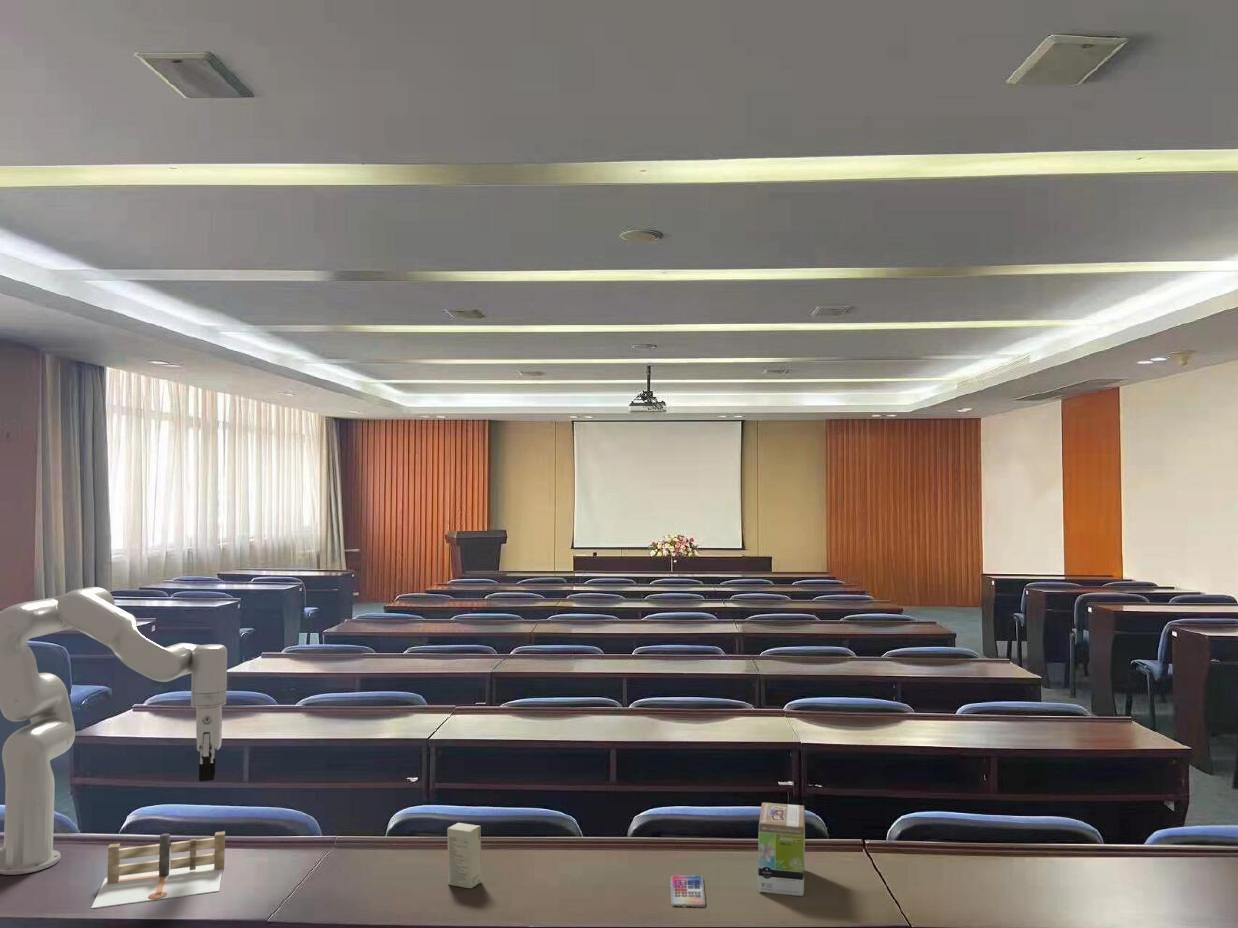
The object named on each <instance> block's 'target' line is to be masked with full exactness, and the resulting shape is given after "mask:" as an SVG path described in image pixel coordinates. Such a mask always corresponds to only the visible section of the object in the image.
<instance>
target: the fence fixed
mask: <svg viewBox="0 0 1238 928" xmlns="http://www.w3.org/2000/svg"><path fill="white" fill-rule="evenodd" d="M170 854H171V834H170V833H162V834H160V835H159V843H156V844H148V845H142V846H141V845H140V846H133V847H132V846H131V847H125V848H124V847H123V848H121V843H119V842H118V843H112V844H109V845H108V847H107V875H106V876H107V877H106V878H107V884H113V883H118V881H119V876H123V875H131V874H139V873H147V872H155V871H159V876H160V877H165V876H168V875H169V870H170ZM152 856H159V859H155V860H150V861H149V860H148V861H140V862H133V863H126V864H125V863H123V864H120V861H121V860H126V859H136V858H145V857H152Z"/></svg>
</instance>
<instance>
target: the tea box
mask: <svg viewBox="0 0 1238 928" xmlns="http://www.w3.org/2000/svg"><path fill="white" fill-rule="evenodd" d="M760 807H761V809H760V815H759V823H758V848H757V849H758V850H757V851H758V854H757V855H758V859H757V860H758V863H757V864H758V866H757V868H758V869H757V892H760V893H766V894H776V895H786V896H787V895H789V896H796V897H797V896H799V897H803V895H804V894H805V892H804V891H805V864H806V860H805V858H806V851H805V850H806V817H805V816H806V815H805V805H800V804H789V803H787V804H786V803H776V802H775V803H773V802H761V806H760Z"/></svg>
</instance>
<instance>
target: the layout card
mask: <svg viewBox="0 0 1238 928" xmlns="http://www.w3.org/2000/svg"><path fill="white" fill-rule="evenodd" d="M223 869H224V868H219V869H214V864H209V865H201V866H196V869H195V870H190V867H185V868H177V869H169V875H168V876H165V877H160V876H159V871H153V872H145V873H137V874H130V875H122V876H119V881H118V883H113V884H107V877H105V878H104V880H103V882H102V884H101V886H100V888H99V891H98V892H97V894H96V898H95V899H94V902H93V903H92V906H91V909H93V910H94V909H101V908H107V907H108V908H109V907H115V906H121V905H129V904H137V903H144V902H152V901H159V900H167V899H173V898H182V897H189V896H194V895H195V896H197V895H202V894H203V895H205V894H211V893H216V892H217V893H218V892H220V888H221V882H222V875H223Z"/></svg>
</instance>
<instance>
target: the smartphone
mask: <svg viewBox="0 0 1238 928" xmlns="http://www.w3.org/2000/svg"><path fill="white" fill-rule="evenodd" d="M669 878H670V879H669V880H670V881H669V883H670V884H671V885H670V884H669V887H671V888H670V906H671V905H673V906H682V907H681V908H687V907H690V906H691V907H703V908H705V907H706V905H707V904H706V903H707V902H706V894H705V893H706V892H705V882H704V877H703V876H701V875H688V874H687V875H680V874H679V875H677V874H676V875H672V876H670V877H669ZM673 906H672V907H673ZM683 906H684V907H683Z"/></svg>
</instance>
